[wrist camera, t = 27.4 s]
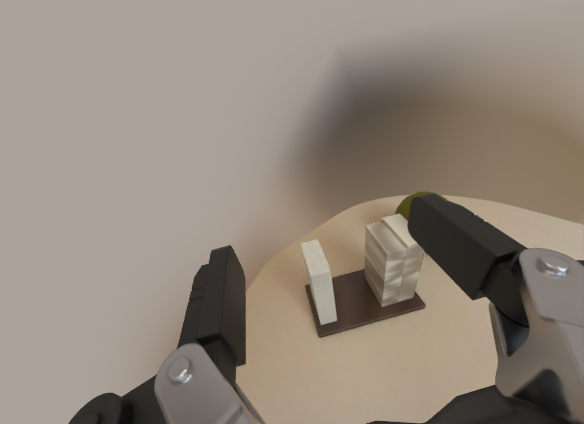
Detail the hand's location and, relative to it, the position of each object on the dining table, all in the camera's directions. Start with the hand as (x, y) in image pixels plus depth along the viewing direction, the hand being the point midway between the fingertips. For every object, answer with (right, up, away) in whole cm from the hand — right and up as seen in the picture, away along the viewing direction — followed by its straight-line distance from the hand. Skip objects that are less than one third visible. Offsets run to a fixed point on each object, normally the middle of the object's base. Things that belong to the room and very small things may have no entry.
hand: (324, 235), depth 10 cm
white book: (+4, -14, +26) cm, 30 cm away
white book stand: (+10, -13, +27) cm, 32 cm away
